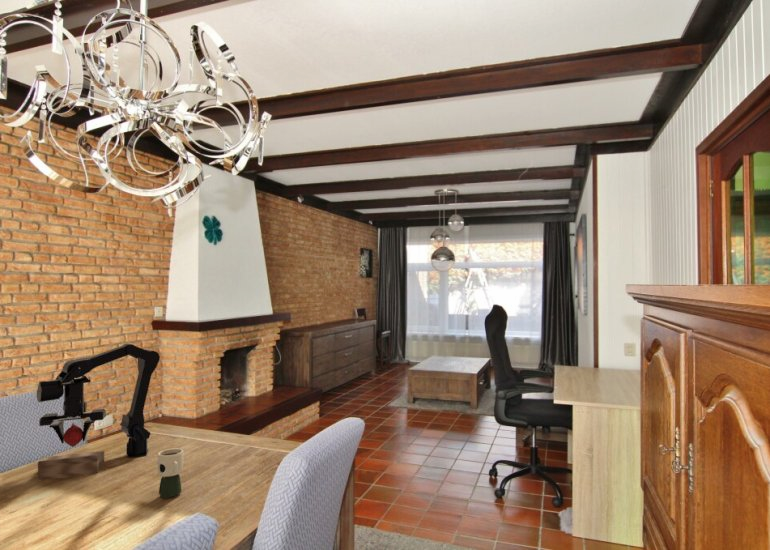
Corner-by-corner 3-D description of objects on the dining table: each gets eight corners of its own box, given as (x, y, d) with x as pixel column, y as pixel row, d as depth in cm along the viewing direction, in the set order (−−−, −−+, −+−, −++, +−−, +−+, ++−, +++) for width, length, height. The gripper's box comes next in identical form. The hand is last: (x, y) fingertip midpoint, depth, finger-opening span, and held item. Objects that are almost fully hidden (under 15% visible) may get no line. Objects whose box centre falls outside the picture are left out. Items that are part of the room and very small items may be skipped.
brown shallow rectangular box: (104, 461, 171) (104, 444, 171) (97, 473, 160) (97, 455, 160) (48, 468, 165) (49, 451, 165) (37, 480, 154) (37, 462, 154)
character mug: (152, 493, 143) (152, 450, 144) (176, 486, 148) (177, 445, 149) (162, 505, 135) (163, 459, 136) (188, 497, 140) (188, 453, 140)
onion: (87, 444, 165) (87, 421, 166) (75, 449, 160) (75, 425, 160) (72, 443, 166) (72, 420, 166) (59, 449, 160) (59, 425, 160)
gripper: (108, 389, 174) (108, 432, 174) (49, 394, 167) (48, 438, 167) (102, 396, 164) (102, 441, 163) (39, 401, 157) (38, 448, 157)
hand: (73, 441), depth 163 cm, fingers closed on onion, 6 cm apart
